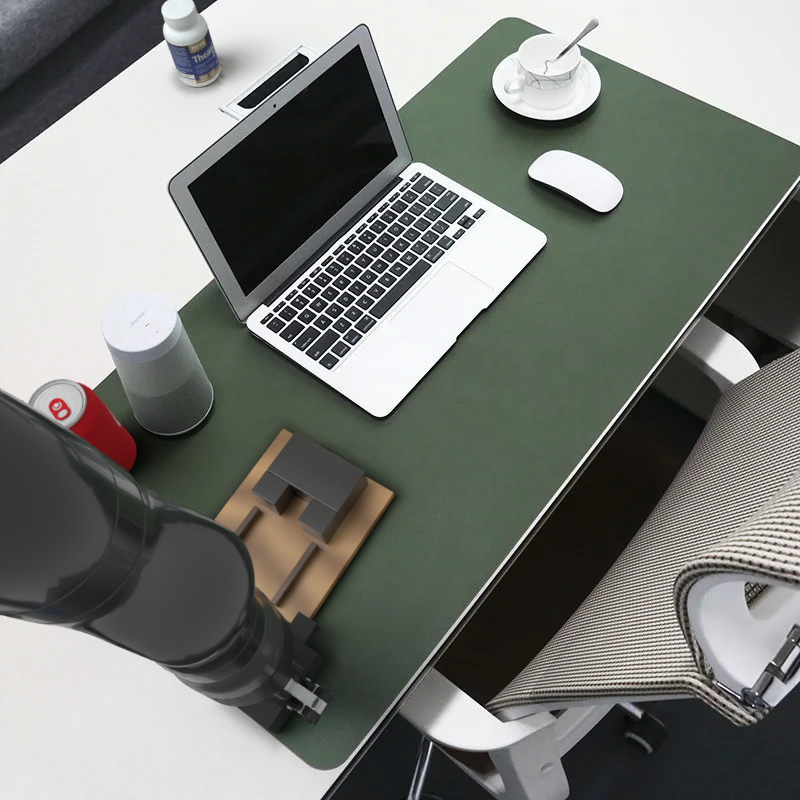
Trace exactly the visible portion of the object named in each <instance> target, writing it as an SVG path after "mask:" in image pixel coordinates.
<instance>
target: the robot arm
mask: <svg viewBox="0 0 800 800" xmlns="http://www.w3.org/2000/svg"><path fill="white" fill-rule="evenodd" d="M0 616H3V617H6V618H11V619H15V620H19V621H23V622H28V623H33V624H38V625H43V626H55V627H60V628H65V629H68V630H72V631H76V632H80V633H83V634H86V635H89V636H92V637H94V638H97V639H99V640H101V641H104V642H106V643H107V644H111V645H113V646H115V647H117V648H120V649H123V650H125V651H127V652H129V653H132V654H135V655H136V656H139V657H142V658H144V659H146V660H149V661H152V662H154V663H155V664H156V665H158V666H159V667H161V668H162V669H163V670H164V671H167V672H168V673H171V674H172V675H174V676H175V677H176V679H177V680H178V681H180V682H181V683H182V684H183V685H185V686H187V687H188V688H189V689H191V690H193V691H195V692H197V693H199V694H201V695H203V696H205V697H206V698H209V699H210V700H213V701H214V702H215V703H218V704H221V705H224V706H228V707H236V708H237V707H239V706H248V705H252V704H255V703H258V702H260V701H262V700H264V699H267V700H268V701H270V702H271V703H273V704H274V705H276V706H277V707H279V708H281V707H283V706H284V705H288V706H287V708H288V709H290V710H291V711H292V712H293V711H295V712H296V713H298V714H299V715H300V716H302V717H303V719H302V720H304V721H305V722H307V723H308V724H310V725H311V724H314V725H315V726H316V725H317V723H318V722H319V720H320V719H321V718H322V716H323V714H324V713H325V711H326V709H327V708H328V706H329V705H330V703H331V701H332V700H333V699H334V697H335V695H334V694H333V693H332V690H331V689H329V688H328V687H324V686H321V685H319V684H318V683H316V682H315V683H312V681H311V680H310V679H308V678H307V677H306V678H305V677H304V674H305V669H304V668H303V667H302V666H300V665H299V664H298V663H297V662H295V661H294V660H293V657H294V640H293V635H292V632H291V629H290V627H289V625H290V624H289V623H288V622H287V621H286V619H285V618H284V617H283V615H282V614H281V613H280V612H279V611H278V609H277V608H276V607H275V606H274V605H273V603H272V602H271V601H270V600H269V599H268V597H267V596H266V595H265V594H264V593H263V592H262V591H261V590H260V589H259V588H258V587H256V586H255V573H254V566H253V562H252V559H251V556H250V553H249V551H248V549H247V547H246V545H245V544H244V542H243V541H242V540H241V538H240V537H239V536H238V535H237V534H236V533H234V532H233V531H232V530H230V529H229V528H227V527H225V526H224V525H222V524H220V523H218V522H216V521H214V519H212V518H210V517H208V516H206V515H205V514H202V513H200V512H198V511H196V510H194V509H191V508H190V507H187V506H186V505H184V504H181V503H179V502H177V501H174V500H172V499H170V498H169V497H166V496H164V495H162V494H161V493H158V492H157V491H154V490H152V489H151V488H150V487H148V486H146V485H145V484H143V483H142V482H141V481H139V480H138V479H136V478H135V477H134V476H133V475H132V474H131V472H129V471H127V470H125V469H124V468H123V467H122V466H120V465H119V464H117V463H116V462H115V461H113V460H112V459H110V458H109V457H108V456H106V455H105V454H104V453H102V452H101V451H99V450H98V449H97V448H95V447H94V446H93V445H91V444H90V443H89V442H87V441H86V440H85V439H83V438H82V437H80V436H79V435H77V434H76V433H74V432H73V431H71V430H70V429H68V428H67V427H65V426H64V425H62V424H61V423H59V422H58V421H56V420H54V419H53V418H51V417H49V416H48V415H46V414H45V413H43V412H41V411H39V410H38V409H36V408H34V407H33V406H31V405H29V404H28V402H26V401H24V400H22V399H20V398H18V397H17V396H15V395H14V394H12V393H10V392H8V391H6V390H5V389H3V388H1V387H0ZM310 681H311V682H310ZM292 709H293V710H292Z"/></svg>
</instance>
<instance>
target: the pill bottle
mask: <svg viewBox="0 0 800 800" xmlns="http://www.w3.org/2000/svg"><path fill="white" fill-rule="evenodd" d="M197 10H198V9H197V7H196V5H195V1H193V0H166V1H165V2H164V3H163V4H162V6H161V15H162V18H163V20H164V23H163V25H162V33H163V37H164V39H165V42H166V45H167V47H168V50H169V53H170V56H171V58H172V62H173V63H174V66H175V69H176V72H177V75H178V77H179V79H180V81H181V82H182V83H183V84H185V85H187V86H189V87H193V88H200V87H205V86H208V85H210V84H212V83H213V82H214V81H216V80H217V78H218V77H219V76H220V73H221V65H220V62H219V58H218V54H217V52H216V48H215V46H214V42H213V39H212V36H211V32H210V29H209V26H208V25H209V24H208V23H207V20H206V18H205V17H204V16H203V15H202V14H200V13H198V11H197Z"/></svg>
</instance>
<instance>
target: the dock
mask: <svg viewBox="0 0 800 800" xmlns="http://www.w3.org/2000/svg"><path fill="white" fill-rule="evenodd" d="M394 498H395V493H394V492H393V491H392V490H390V489H389V488H387V487H385V486H384V485H382V484H379V483H378V482H376V481H375V480H373V479H371V478H370V477H368V476H367V473H366V471H364V470H363V469H361V468H360V467H358V466H356V465H354V464H353V463H351V462H349V461H348V460H346V459H344V458H342V457H341V456H339V455H337V454H335V453H334V452H332V451H330V450H328V449H327V448H325V447H324V446H321V445H320V444H318V443H317V442H315V441H314V440H311V439H310V438H308V437H306V436H304V435H303V434H301V433H299V432H298V431H295V432H293V433H292V432H290V431H289V430H287V429H285V428H282V429H281V431H280V432H279V433H278V434H277V436H276V438H275V439H274V440H273V441H272V442H271V444H270V445H269V446H268V447H267V449H266V451H264V453H263V455H262V456H261V457H260V458H259V460H258V461H257V462H256V464H255V465H254V467H252V469H250V472H249V473H248V474H247V475H246V477H245V478H244V479H243V481H242V483H241V484H240V485H239V486H238V487H237V489H236V490H235V492H234V493H233V494H232V495H231V497H230V498H229V500H228V501H226V504H224V506H223V508H222V509H221V510H220V512H219V513H218V514H217V516H216V517H215V518H214V519H213V520H214V521H216V522H218V523H220V524H222V525H224V526H225V527H227V528H229V529H230V530H232V531H233V532H234V533H236V534H237V535H238V536H239V537H240V538H241V540H242V541H243V542H244V544H245V545H246V547H247V549H248V551H249V553H250V556H251V559H252V562H253V566H254V573H255V586H256V587H258V588H259V589H260V590H261V591H262V592H263V593H264V594H265V595H266V596H267V597H268V599H269V600H270V601H271V602H272V603H273V605H274V606H275V607H276V608H277V609H278V611H279V612H280V613H281V614H282V615H283V617H284V618H285V619H286V621H287V623H288V625H290V623H291V622H292V620H293V619H294V617H295V616H296V614H297V613H298V612H301V613H302V614H304V615H305V616H307V617H308V618H310V619H311V620H313V619H314V617H315V616H316V615H317V613H318V611H319V610H320V608H321V607H322V605H323V604H324V602H325V601H326V600H327V598H328V597H329V595H330V593H331V591H332V590H333V589H334V587H335V586H336V584H337V583H338V581H339V580H340V578H341V577H342V575H343V574H344V573H345V571H346V570H347V568H348V566H349V565H350V563H351V562H352V560H353V559H354V558H355V556H356V554H357V553H358V551H359V550H360V549H361V547H362V546H363V544H364V542H365V541H366V539H367V538H368V536H369V535H370V533H371V532H372V531H373V529H374V528H375V526H376V524H377V523H378V521H379V520H380V519H381V517H382V515H384V513H385V511H386V510H387V509H388V507H389V505H390V504H391V502H392V501H393V499H394Z"/></svg>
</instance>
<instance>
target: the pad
mask: <svg viewBox="0 0 800 800" xmlns="http://www.w3.org/2000/svg"><path fill="white" fill-rule="evenodd" d="M288 625H289V627H290V629H291V632H292V635H293V640H294V657H293V660H294V661H295V662H297V663H298V664H299V665H300V666H302V667H303V668H304V669H305V674H304V677H305V678H306V677H307V678H308V679H310V680H311V681H310V682H311V683H312V681H313V679H314V678H315V676H316V675H317V673H318V672H319V670H320V669H321V667H322V665H323V664H324V662H325V661H324V659H323V658H322V657H321V655H320V654H319V653H318V652H316V651H315V650H313V649H312V648H310V646H311V644H312V643H313V641H314V640H315V638H316V637H317V635H318V633H320V631H321V627H320V625H319V624H318V623H317V622H316V621H314V620H313V619H312V620H311V619H310V618H308V617H307V616H305V615H304V614H302V613H301V612H298V613H297V614H296V616H295V617H294V619H293V620H292V622H291V623H290V624H288ZM287 706H288V705H284V706H283V707H281V708H279V707H277V706H276V705H274V704H273V703H271V702H270V701H268V700H267V699H264V700H262V701H260V702H258V703H255V704H252V705H248V706H239V707H236V708H237V709H239V710H240V711H241V712H243V713H244V714H246V715H247V716H249V717H250V718H251V719H253V720H254V721H256V722H257V723H258V724H260V725H261V726H262V727H264V728H265V729H266V730H268V731H270V732H272V733H273V734H277V735H278V733H279V732H280V731H281V729H282V727H283V725H284V724H285V723H286V721H287V719H289V716H290V715H291V713H292V712H293V711H294V710H293V709H292V711H291V710H290V709H288V708H287Z"/></svg>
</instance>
